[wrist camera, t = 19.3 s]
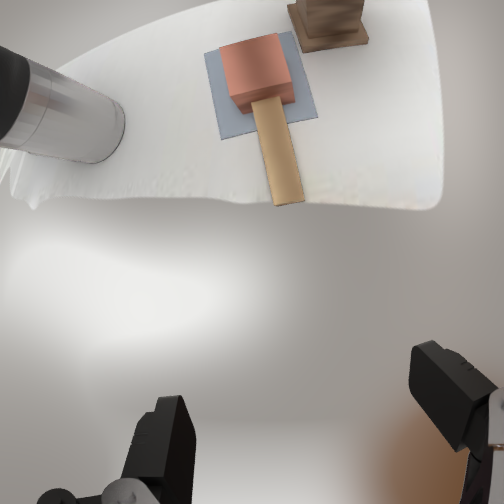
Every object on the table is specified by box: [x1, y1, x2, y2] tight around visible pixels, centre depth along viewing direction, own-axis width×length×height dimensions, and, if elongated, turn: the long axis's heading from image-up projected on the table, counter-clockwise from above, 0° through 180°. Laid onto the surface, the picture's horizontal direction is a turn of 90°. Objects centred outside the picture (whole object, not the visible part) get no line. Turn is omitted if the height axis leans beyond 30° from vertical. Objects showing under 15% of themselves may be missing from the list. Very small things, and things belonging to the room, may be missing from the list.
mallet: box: [219, 33, 305, 206], centre depth 31 cm, size 6×17×6 cm, turn 12°
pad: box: [204, 31, 318, 140], centre depth 33 cm, size 11×12×1 cm
